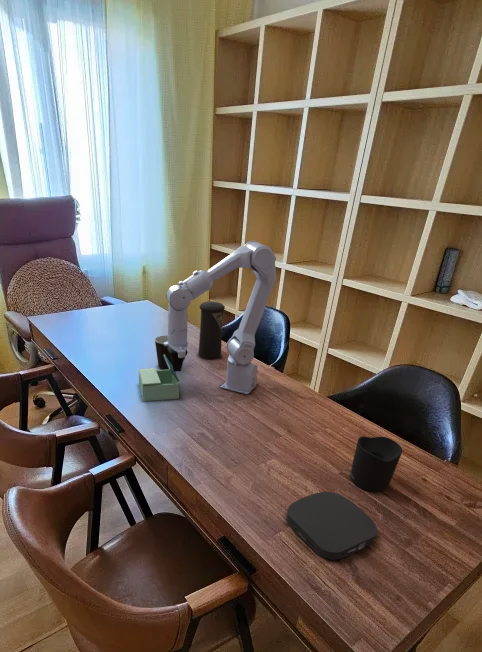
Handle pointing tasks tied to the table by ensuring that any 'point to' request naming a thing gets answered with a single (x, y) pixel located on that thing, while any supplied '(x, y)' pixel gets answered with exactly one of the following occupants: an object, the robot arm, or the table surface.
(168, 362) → the lid
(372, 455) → the pen holder
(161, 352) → the coffee mug
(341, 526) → the media streaming box
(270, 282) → the robot arm
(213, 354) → the container
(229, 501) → the table surface
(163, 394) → the box
